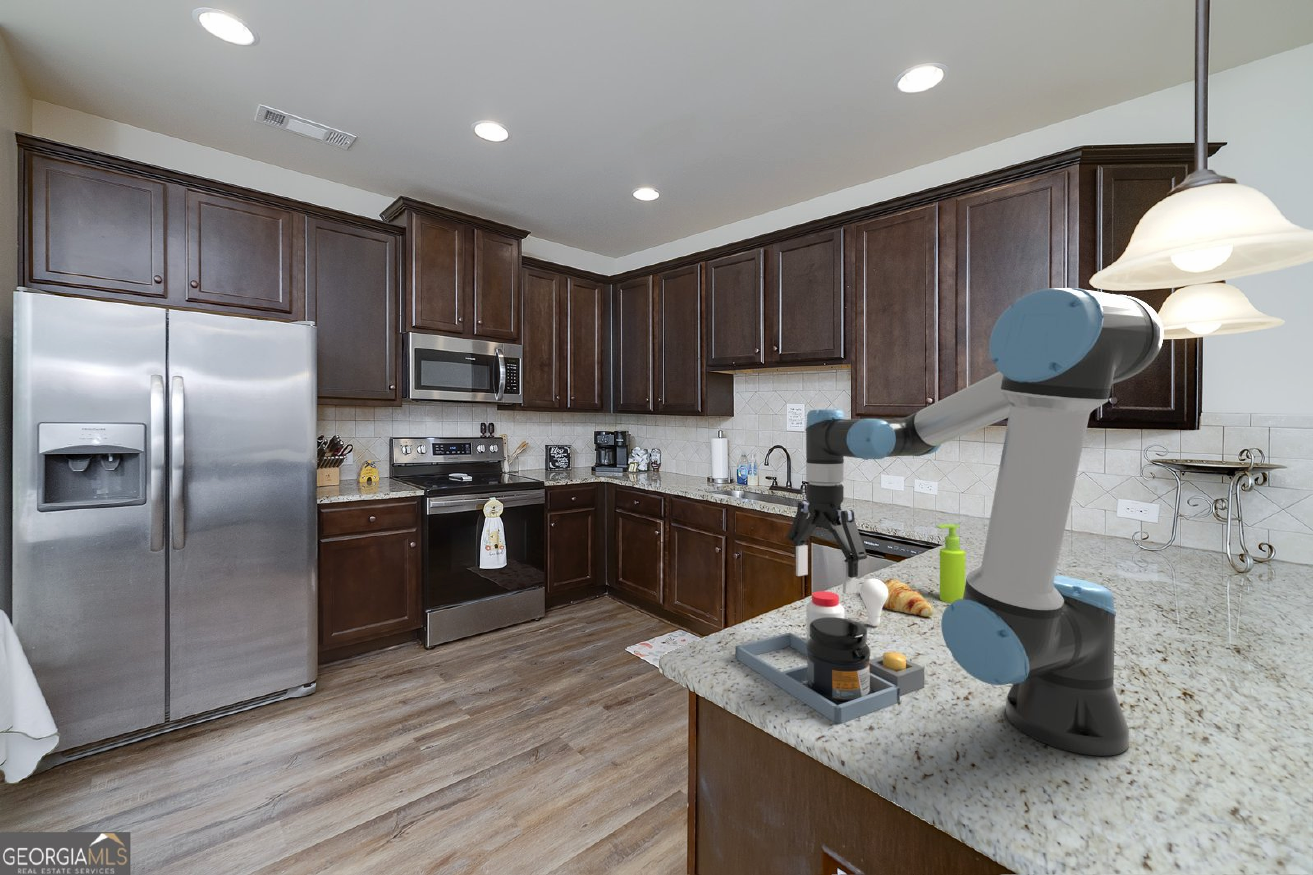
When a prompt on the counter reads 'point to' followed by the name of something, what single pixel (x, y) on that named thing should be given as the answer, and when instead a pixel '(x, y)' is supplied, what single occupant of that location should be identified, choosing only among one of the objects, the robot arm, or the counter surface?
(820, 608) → the pill bottle
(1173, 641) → the counter surface
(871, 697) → the frame
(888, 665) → the button
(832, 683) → the supplement container
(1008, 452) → the robot arm
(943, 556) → the soap dispenser
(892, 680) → the grey egg holder
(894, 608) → the croissant
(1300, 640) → the counter surface
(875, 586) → the lightbulb
